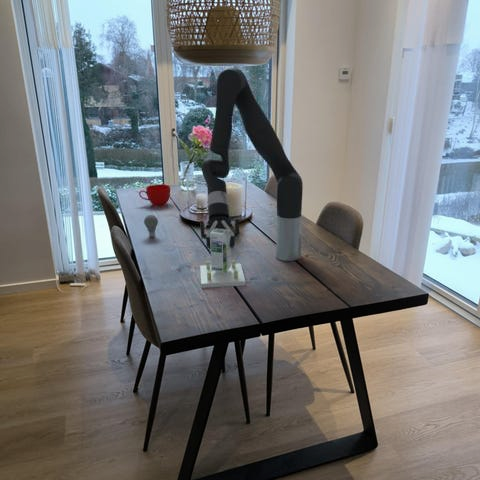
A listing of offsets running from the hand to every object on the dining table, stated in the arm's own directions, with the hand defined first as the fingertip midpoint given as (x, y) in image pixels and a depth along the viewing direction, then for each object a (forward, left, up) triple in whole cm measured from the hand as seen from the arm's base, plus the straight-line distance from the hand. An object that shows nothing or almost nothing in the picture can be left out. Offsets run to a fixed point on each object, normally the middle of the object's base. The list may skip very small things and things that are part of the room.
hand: (221, 248), depth 152 cm
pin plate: (0, +1, -11) cm, 11 cm away
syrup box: (0, -1, -8) cm, 8 cm away
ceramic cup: (+30, -94, -11) cm, 100 cm away
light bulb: (+28, -44, -11) cm, 54 cm away
